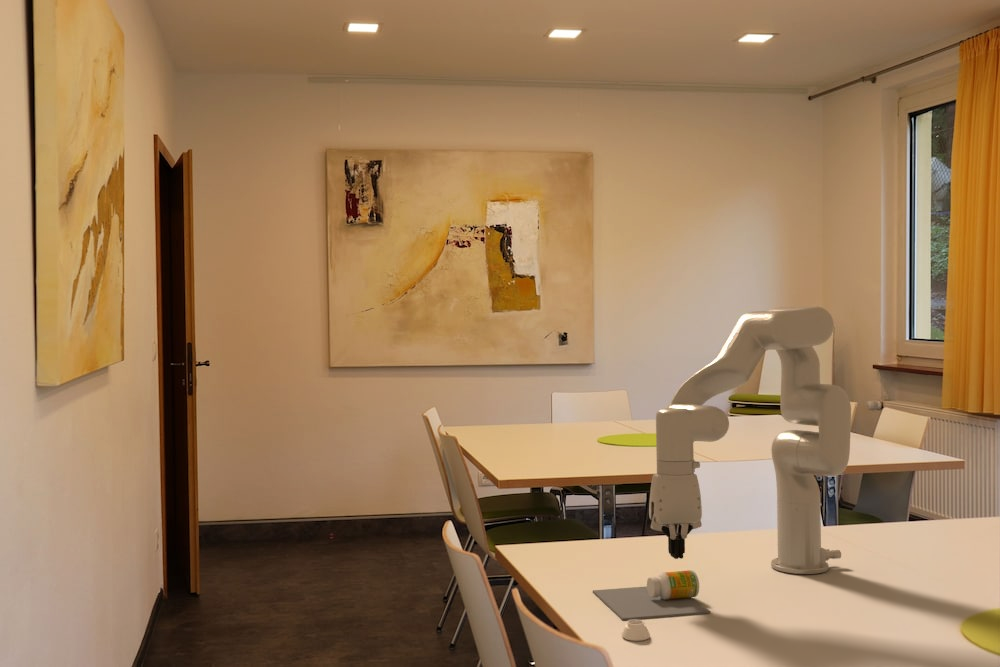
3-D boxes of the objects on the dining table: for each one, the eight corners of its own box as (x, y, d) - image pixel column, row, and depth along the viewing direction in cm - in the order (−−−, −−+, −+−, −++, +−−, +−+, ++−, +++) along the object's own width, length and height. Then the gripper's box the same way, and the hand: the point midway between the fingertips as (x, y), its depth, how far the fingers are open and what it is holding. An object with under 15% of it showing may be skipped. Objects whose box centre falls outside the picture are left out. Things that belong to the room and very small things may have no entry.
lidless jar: (652, 642, 170) (647, 633, 175) (651, 625, 170) (646, 617, 175) (624, 643, 170) (619, 634, 175) (624, 626, 170) (619, 618, 175)
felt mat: (672, 586, 206) (672, 584, 206) (710, 613, 186) (710, 611, 186) (592, 592, 202) (592, 590, 202) (622, 620, 183) (622, 618, 183)
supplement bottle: (702, 585, 193) (657, 589, 190) (695, 602, 196) (651, 606, 194) (692, 564, 197) (649, 568, 195) (686, 581, 200) (643, 585, 198)
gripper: (702, 464, 201) (703, 550, 202) (634, 467, 199) (636, 555, 199) (716, 469, 194) (718, 559, 194) (646, 472, 191) (648, 564, 191)
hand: (676, 557), depth 196 cm, fingers closed
